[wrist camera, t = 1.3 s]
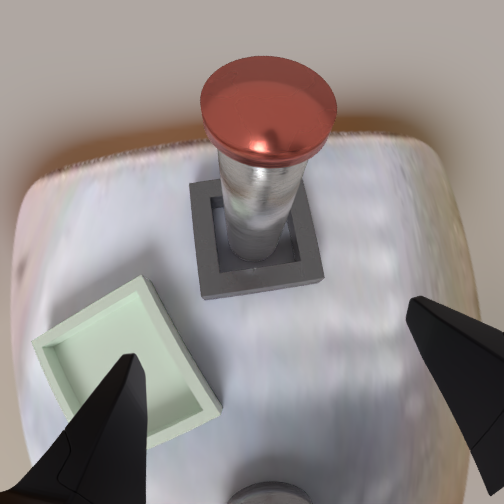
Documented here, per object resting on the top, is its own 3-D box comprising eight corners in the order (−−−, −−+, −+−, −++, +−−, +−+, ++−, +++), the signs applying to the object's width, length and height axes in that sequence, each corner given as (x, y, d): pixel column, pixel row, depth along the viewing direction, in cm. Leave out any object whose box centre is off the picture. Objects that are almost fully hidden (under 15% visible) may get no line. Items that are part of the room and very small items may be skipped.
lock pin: (293, 226, 24) (353, 87, 10) (265, 278, 23) (303, 176, 9) (241, 199, 25) (244, 43, 10) (211, 248, 24) (172, 116, 9)
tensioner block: (317, 283, 23) (324, 277, 21) (204, 300, 23) (201, 296, 21) (296, 182, 26) (299, 169, 24) (192, 195, 25) (189, 183, 23)
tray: (222, 407, 21) (220, 415, 18) (109, 459, 19) (96, 469, 16) (151, 281, 23) (141, 274, 21) (48, 342, 21) (31, 341, 19)
